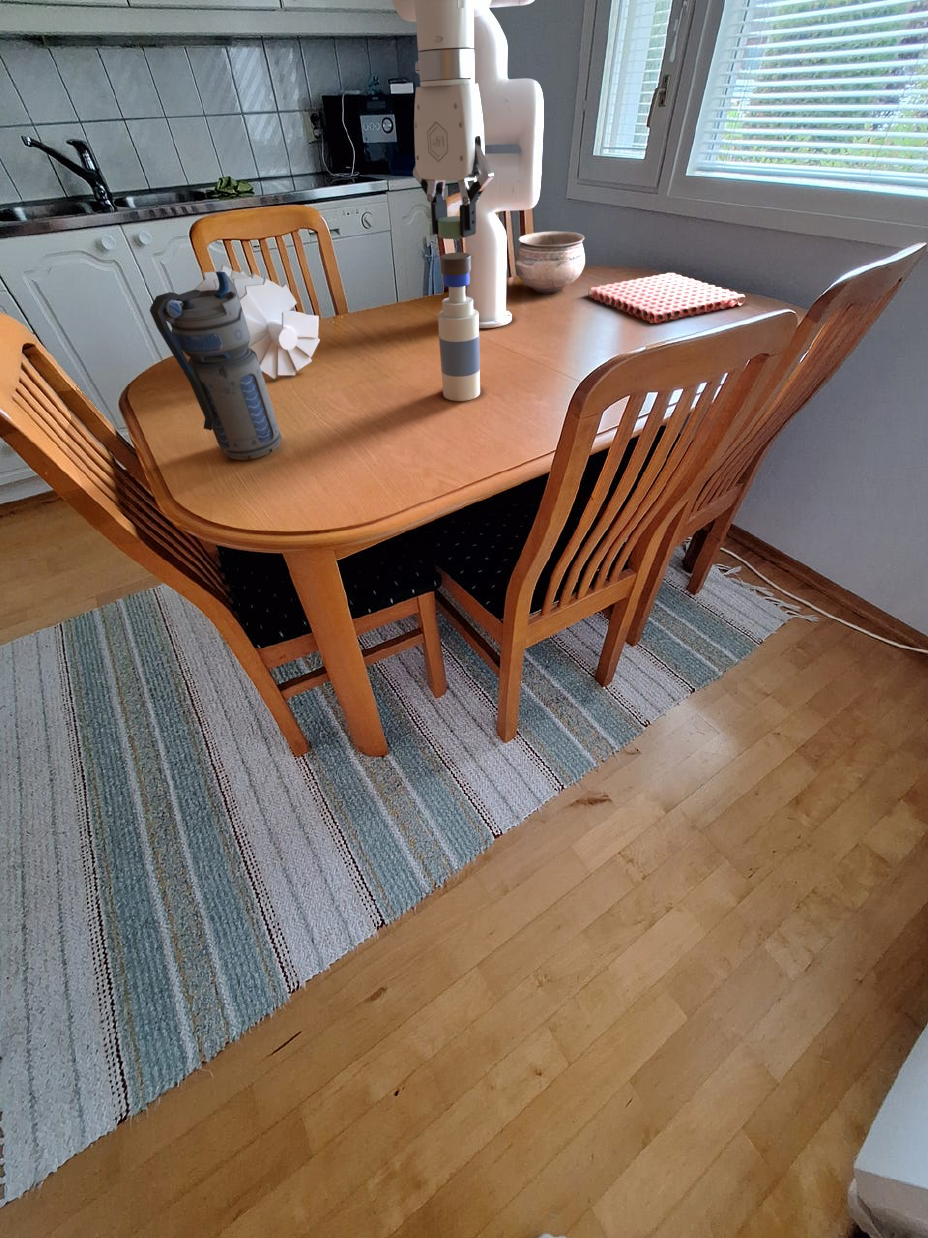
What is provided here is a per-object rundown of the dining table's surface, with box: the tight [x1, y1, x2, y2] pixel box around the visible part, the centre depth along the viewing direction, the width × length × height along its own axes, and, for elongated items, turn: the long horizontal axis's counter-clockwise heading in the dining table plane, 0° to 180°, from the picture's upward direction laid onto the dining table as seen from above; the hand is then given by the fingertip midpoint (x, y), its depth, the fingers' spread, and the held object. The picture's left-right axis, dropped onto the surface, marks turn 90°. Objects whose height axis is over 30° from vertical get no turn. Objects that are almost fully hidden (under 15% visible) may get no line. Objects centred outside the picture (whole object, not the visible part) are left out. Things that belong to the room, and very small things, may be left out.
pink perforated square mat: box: [587, 272, 746, 324], centre depth 138 cm, size 28×28×2 cm
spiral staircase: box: [193, 264, 321, 380], centre depth 111 cm, size 18×18×25 cm
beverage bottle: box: [149, 270, 282, 461], centre depth 81 cm, size 10×13×25 cm
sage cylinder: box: [438, 215, 465, 240], centre depth 84 cm, size 5×5×2 cm
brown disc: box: [439, 252, 471, 275], centre depth 87 cm, size 5×5×2 cm
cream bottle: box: [437, 273, 481, 402], centre depth 96 cm, size 7×7×20 cm
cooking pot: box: [514, 230, 586, 295], centre depth 145 cm, size 25×19×12 cm
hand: (454, 232), depth 84 cm, fingers closed on sage cylinder, 5 cm apart
